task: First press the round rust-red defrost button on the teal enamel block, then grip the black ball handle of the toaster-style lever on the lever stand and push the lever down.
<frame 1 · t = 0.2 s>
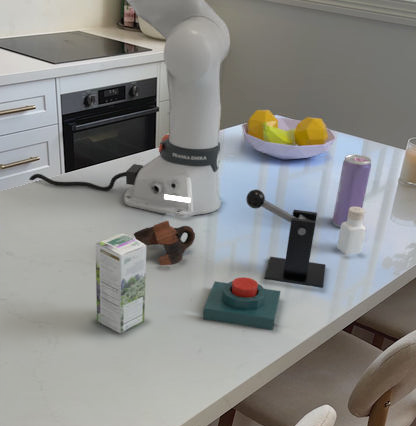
lever stand: (295, 275, 129), on the table
pepper shaker: (348, 253, 140), on the table
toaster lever: (278, 211, 123), point 12 cm above the table, hinge at 22.0°
defrost block: (242, 310, 117), on the table
brown clay jug: (164, 257, 132), on the table
beverage can: (345, 225, 152), on the table
fruit bowl: (283, 153, 191), on the table
defrost button: (244, 287, 115), point 4 cm above the table, slide at 0.1 cm
syrup box: (121, 323, 112), on the table
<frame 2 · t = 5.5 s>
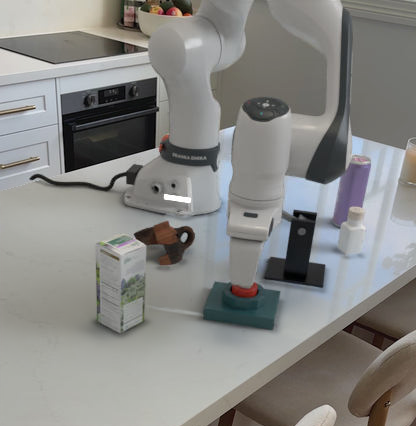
hand: (246, 284, 114), 5 cm above the table, tool pointing down, fingers closed, pressing on defrost button
defrost button: (244, 289, 115), point 4 cm above the table, slide at -0.2 cm, touching gripper
everything else where it was.
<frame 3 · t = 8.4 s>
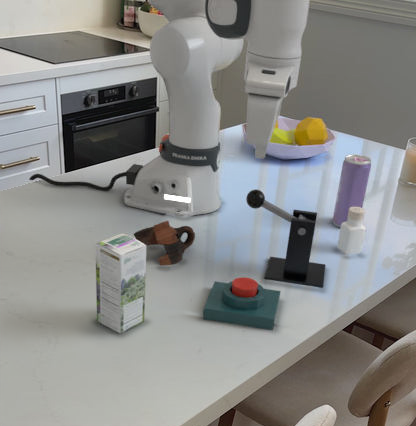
hand: (260, 155, 117), 22 cm above the table, tool pointing down, fingers closed
defrost button: (244, 287, 115), point 4 cm above the table, slide at 0.1 cm
everything else where it was.
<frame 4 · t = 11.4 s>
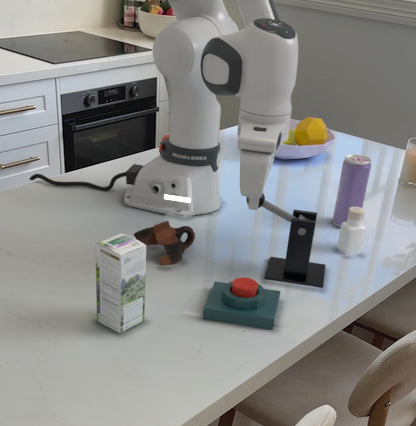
hand: (255, 203, 123), 13 cm above the table, tool pointing down, fingers closed on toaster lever, 3 cm apart
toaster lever: (278, 211, 123), point 12 cm above the table, hinge at 22.0°, touching gripper
everything else where it was.
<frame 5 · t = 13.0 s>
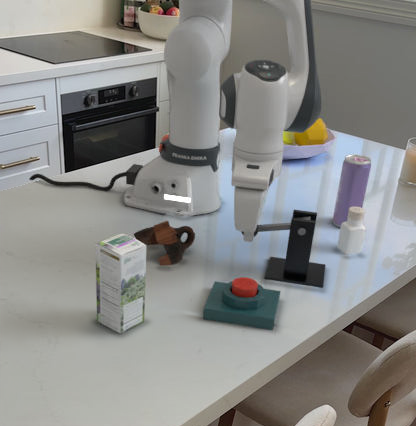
hand: (250, 234, 126), 7 cm above the table, tool pointing down, fingers closed on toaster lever, 3 cm apart
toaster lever: (275, 227, 124), point 9 cm above the table, hinge at -12.7°, touching gripper
everything else where it was.
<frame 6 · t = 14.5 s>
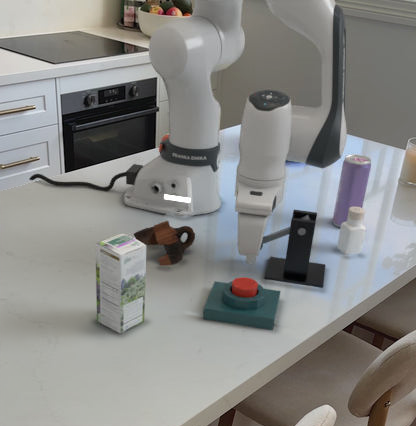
hand: (252, 257, 129), 3 cm above the table, tool pointing down, fingers closed on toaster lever, 2 cm apart
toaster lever: (277, 235, 125), point 8 cm above the table, hinge at -30.4°, touching gripper
everything else where it was.
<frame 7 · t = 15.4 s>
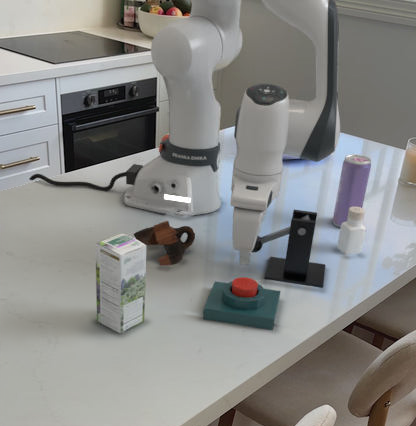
hand: (248, 252, 128), 3 cm above the table, tool pointing down, fingers open, 8 cm apart
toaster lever: (277, 234, 125), point 8 cm above the table, hinge at -29.9°
everything else where it was.
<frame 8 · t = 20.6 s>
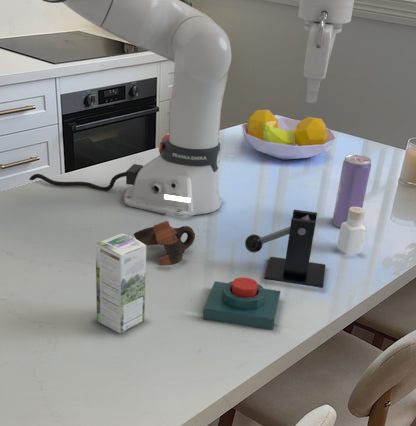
hand: (312, 95, 119), 31 cm above the table, tool pointing down, fingers open, 8 cm apart
nothing on the table moved.
at the end: defrost button pushed in 1.1 cm at the most during the clip, back to where it started at the end; defrost button slide at 0.1 cm; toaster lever at -30° (first picture: +22°) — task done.
